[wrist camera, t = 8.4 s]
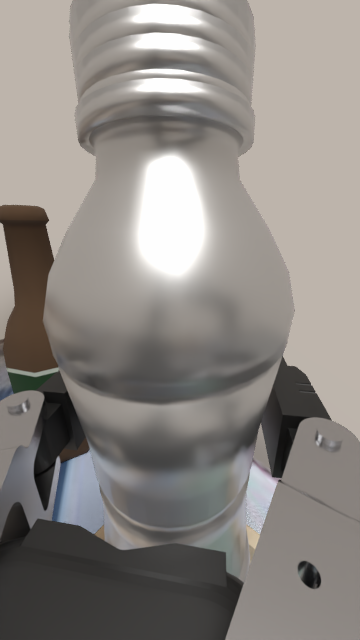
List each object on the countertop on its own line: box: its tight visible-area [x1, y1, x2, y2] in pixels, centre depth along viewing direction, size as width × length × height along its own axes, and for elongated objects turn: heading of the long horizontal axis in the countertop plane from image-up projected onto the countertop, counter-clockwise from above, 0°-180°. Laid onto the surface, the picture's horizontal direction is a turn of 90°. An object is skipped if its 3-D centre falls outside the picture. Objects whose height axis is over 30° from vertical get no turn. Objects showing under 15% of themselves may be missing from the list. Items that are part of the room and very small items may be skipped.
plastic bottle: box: [43, 0, 295, 582], centre depth 9 cm, size 6×7×20 cm
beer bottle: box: [0, 205, 89, 463], centre depth 24 cm, size 8×8×24 cm
